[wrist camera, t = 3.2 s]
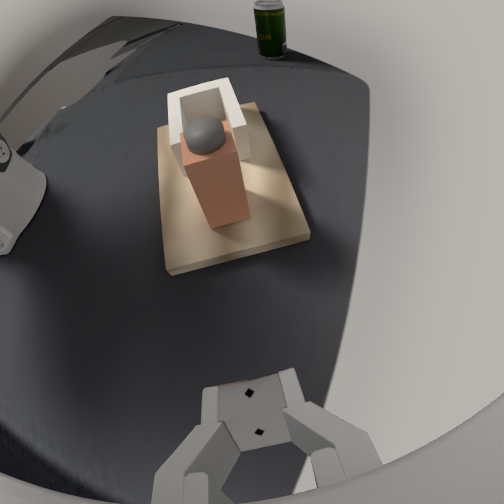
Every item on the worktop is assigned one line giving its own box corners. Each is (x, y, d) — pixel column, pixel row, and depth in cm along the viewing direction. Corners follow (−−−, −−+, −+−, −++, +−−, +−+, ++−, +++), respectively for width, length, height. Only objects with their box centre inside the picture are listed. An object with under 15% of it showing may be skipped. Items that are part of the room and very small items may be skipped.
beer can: (289, 50, 47) (286, -1, 36) (284, 61, 45) (281, 5, 34) (262, 49, 48) (256, -1, 37) (256, 60, 46) (249, 5, 35)
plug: (210, 228, 28) (178, 154, 19) (204, 197, 30) (175, 122, 21) (250, 217, 28) (234, 139, 19) (242, 187, 30) (225, 108, 21)
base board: (171, 276, 28) (166, 270, 27) (160, 135, 38) (157, 128, 36) (309, 239, 28) (310, 232, 27) (255, 110, 38) (254, 101, 37)
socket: (183, 176, 32) (169, 145, 27) (177, 121, 37) (167, 93, 32) (251, 157, 32) (246, 124, 27) (233, 106, 37) (227, 77, 32)
